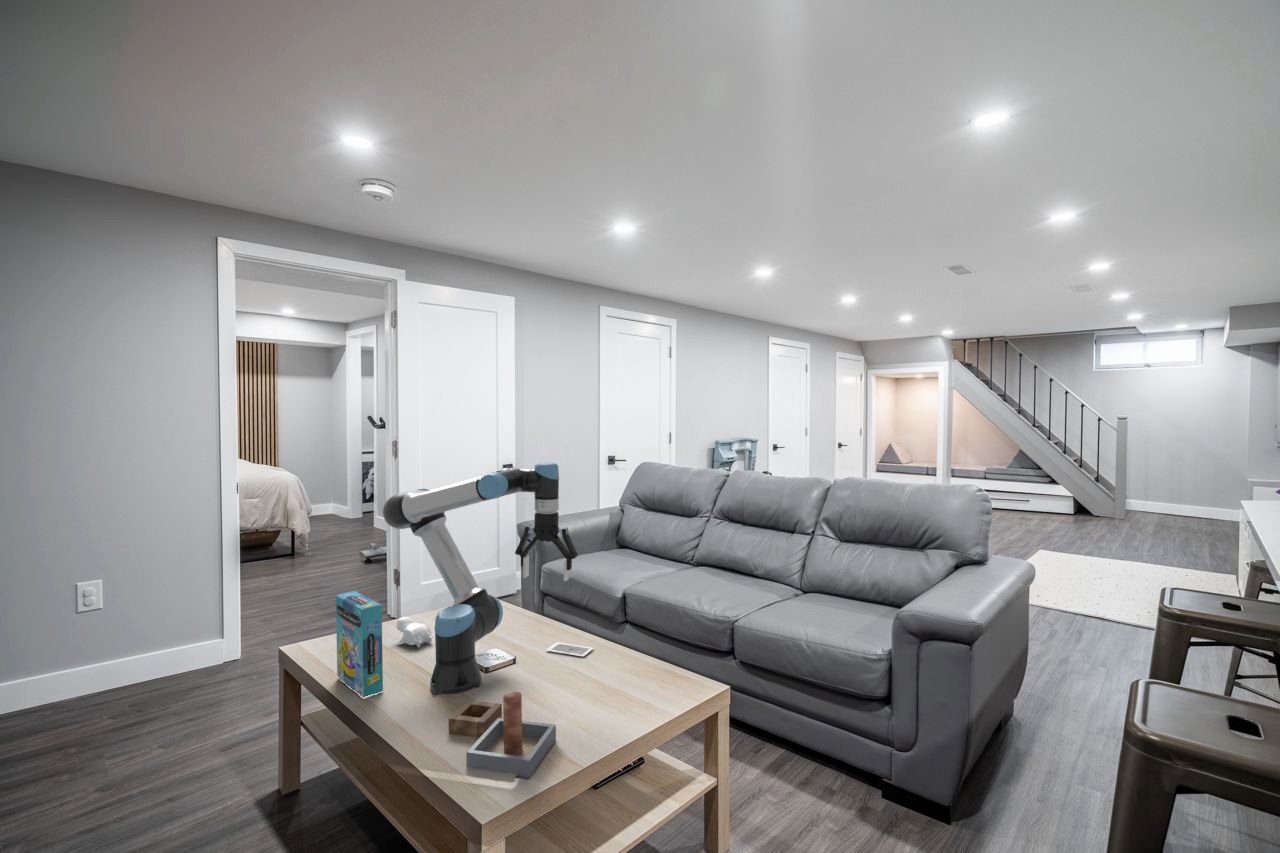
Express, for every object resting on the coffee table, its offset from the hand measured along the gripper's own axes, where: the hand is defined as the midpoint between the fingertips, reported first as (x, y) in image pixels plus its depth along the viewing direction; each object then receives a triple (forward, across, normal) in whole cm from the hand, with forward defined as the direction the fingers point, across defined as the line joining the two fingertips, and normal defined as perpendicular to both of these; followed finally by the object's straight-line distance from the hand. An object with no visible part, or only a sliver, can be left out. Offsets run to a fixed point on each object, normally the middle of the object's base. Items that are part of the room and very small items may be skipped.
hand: (546, 578), depth 187 cm
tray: (+31, +9, -43) cm, 54 cm away
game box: (+33, -54, -18) cm, 66 cm away
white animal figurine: (+33, -59, +16) cm, 69 cm away
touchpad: (+32, +1, +21) cm, 38 cm away
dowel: (+30, +9, -43) cm, 53 cm away
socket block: (+32, -6, -34) cm, 46 cm away
